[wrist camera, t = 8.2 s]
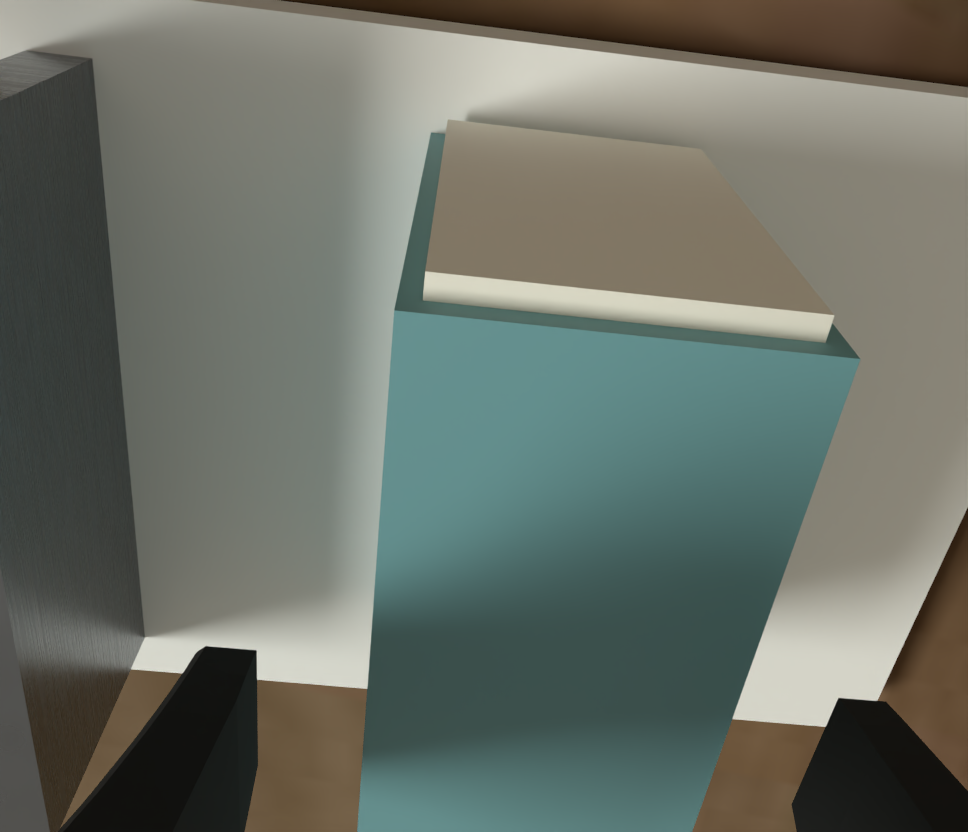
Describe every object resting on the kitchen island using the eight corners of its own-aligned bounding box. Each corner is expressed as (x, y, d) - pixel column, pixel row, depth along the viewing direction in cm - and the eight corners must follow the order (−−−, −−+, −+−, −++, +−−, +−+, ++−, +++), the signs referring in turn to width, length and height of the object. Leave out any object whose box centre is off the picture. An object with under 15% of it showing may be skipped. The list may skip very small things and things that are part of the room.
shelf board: (98, 627, 22) (79, 664, 21) (17, -33, 15) (-19, -26, 14) (846, 690, 23) (863, 730, 22) (1104, 104, 16) (1148, 120, 15)
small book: (391, 606, 20) (349, 930, 14) (432, 113, 15) (395, 281, 8) (599, 624, 20) (649, 949, 14) (712, 146, 15) (870, 330, 9)
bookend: (97, 633, 20) (-8, 840, 16) (25, 50, 14) (-178, 126, 10) (145, 637, 20) (52, 845, 16) (91, 58, 14) (-80, 138, 10)
